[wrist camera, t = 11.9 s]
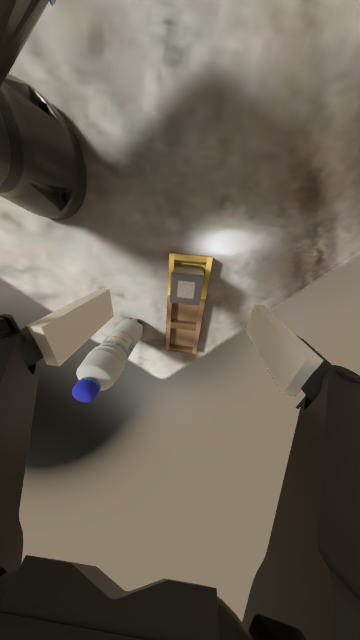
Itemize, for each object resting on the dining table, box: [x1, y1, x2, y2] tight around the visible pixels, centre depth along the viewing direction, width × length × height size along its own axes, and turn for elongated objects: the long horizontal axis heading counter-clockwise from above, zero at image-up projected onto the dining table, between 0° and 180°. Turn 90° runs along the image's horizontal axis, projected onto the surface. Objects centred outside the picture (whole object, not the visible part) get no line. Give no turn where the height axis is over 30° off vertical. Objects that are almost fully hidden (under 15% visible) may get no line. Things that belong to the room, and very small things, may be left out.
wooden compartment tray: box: [165, 253, 213, 354], centre depth 33 cm, size 23×8×3 cm, turn 175°
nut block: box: [170, 263, 204, 306], centre depth 25 cm, size 4×4×10 cm
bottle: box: [72, 318, 143, 402], centre depth 29 cm, size 7×7×20 cm
